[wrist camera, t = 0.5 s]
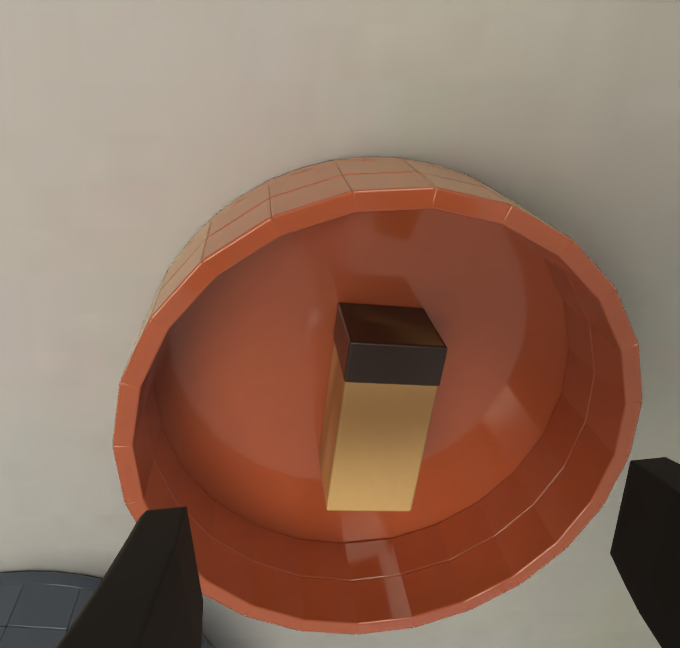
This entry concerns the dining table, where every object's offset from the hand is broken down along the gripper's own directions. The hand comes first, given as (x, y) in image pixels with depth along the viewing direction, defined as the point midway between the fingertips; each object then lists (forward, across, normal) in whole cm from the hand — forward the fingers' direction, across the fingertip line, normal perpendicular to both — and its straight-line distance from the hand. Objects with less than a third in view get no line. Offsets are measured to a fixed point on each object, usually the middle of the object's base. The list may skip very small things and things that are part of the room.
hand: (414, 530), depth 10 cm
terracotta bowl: (+10, -1, +3) cm, 10 cm away
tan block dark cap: (+9, -1, +3) cm, 10 cm away
